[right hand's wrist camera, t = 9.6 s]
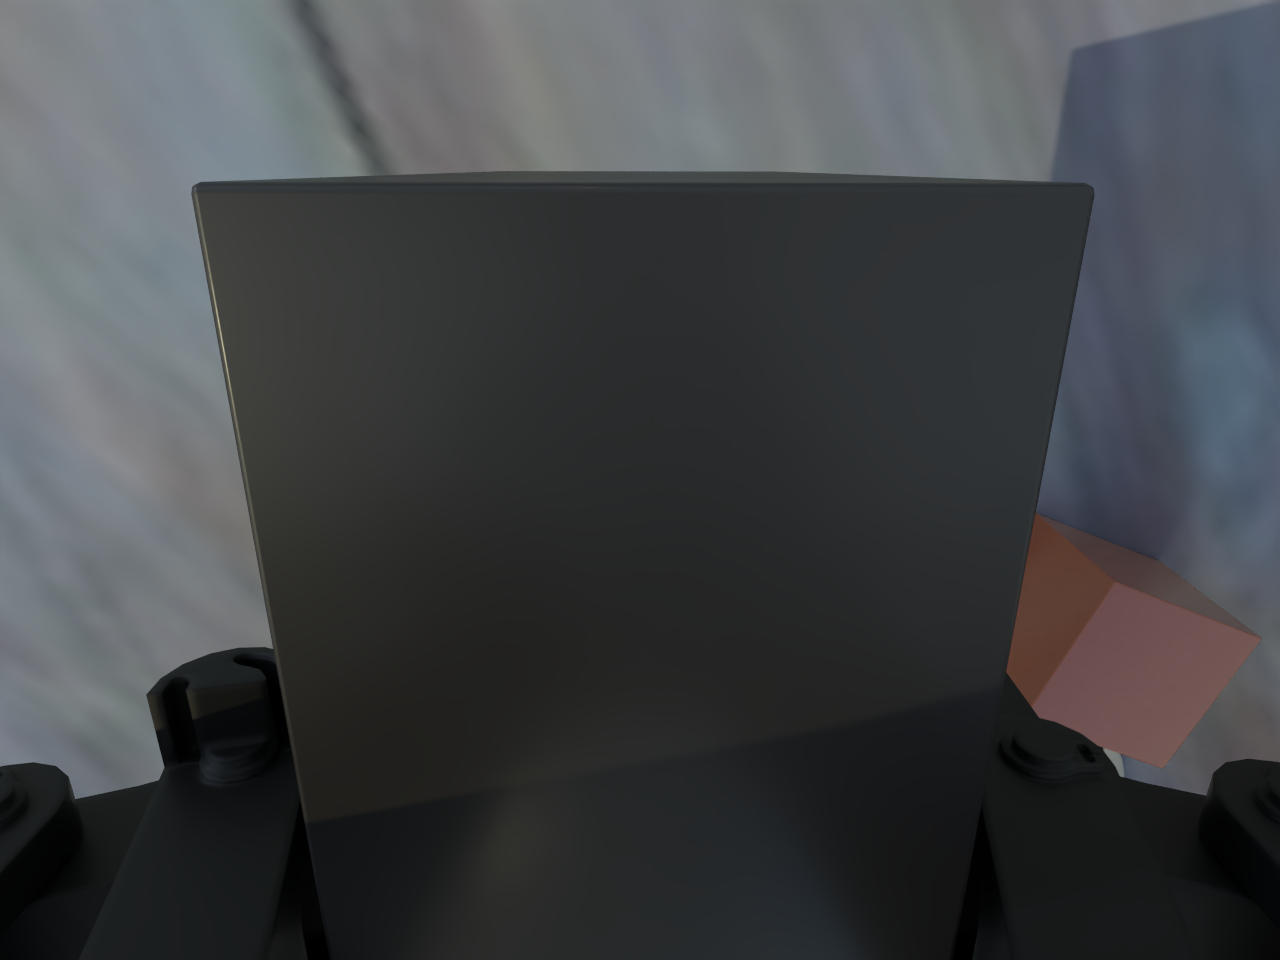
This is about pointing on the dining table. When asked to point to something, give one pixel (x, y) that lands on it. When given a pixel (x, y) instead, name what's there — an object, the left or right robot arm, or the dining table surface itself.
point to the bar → (641, 543)
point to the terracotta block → (1119, 644)
